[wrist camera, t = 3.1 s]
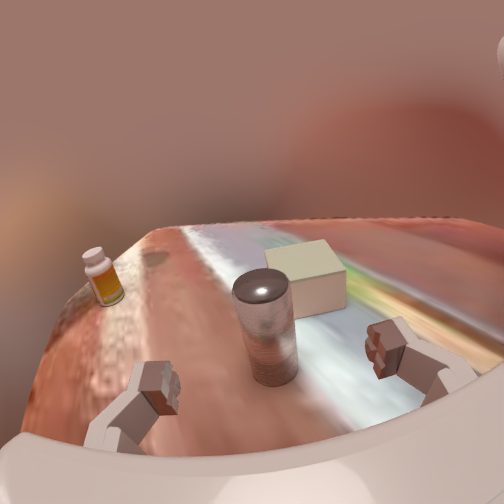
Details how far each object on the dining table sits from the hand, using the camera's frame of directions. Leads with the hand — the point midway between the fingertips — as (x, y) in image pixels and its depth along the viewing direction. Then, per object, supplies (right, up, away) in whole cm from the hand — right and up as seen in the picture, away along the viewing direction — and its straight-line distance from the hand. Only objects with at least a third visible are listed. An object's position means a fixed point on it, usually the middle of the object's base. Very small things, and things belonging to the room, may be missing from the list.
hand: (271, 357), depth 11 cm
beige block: (+7, -2, +29) cm, 30 cm away
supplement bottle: (-26, -5, +36) cm, 45 cm away
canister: (+2, -8, +18) cm, 20 cm away
